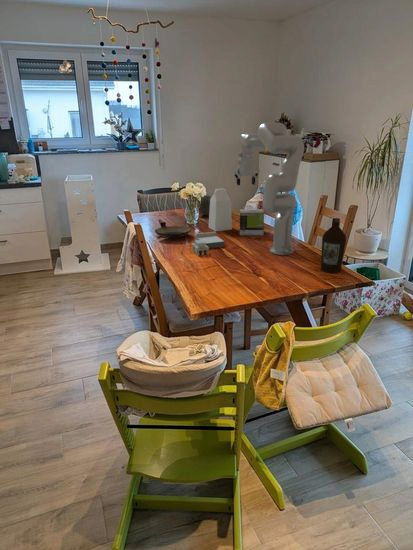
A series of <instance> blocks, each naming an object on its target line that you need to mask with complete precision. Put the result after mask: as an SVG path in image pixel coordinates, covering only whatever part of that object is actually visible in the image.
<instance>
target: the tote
mask: <svg viewBox="0 0 413 550" xmlns="http://www.w3.org/2000/svg"><path fill="white" fill-rule="evenodd" d="M193 243H195V245H196V246H197V247H206V242H204V241H203V240H197V239H196V240H194V242H193Z"/></svg>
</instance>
